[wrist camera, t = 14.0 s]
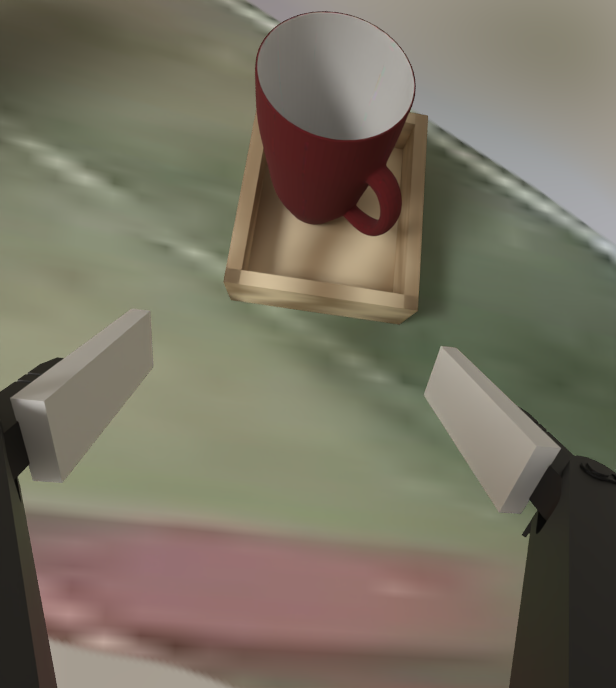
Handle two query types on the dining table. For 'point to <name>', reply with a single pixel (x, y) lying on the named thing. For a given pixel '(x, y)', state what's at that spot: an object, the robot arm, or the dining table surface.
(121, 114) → the dining table surface
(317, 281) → the wooden tray
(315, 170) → the mug
